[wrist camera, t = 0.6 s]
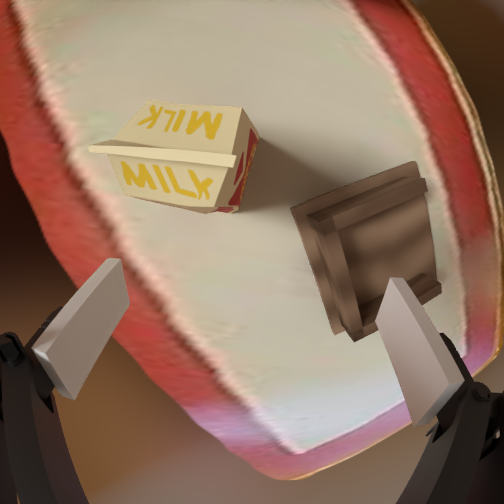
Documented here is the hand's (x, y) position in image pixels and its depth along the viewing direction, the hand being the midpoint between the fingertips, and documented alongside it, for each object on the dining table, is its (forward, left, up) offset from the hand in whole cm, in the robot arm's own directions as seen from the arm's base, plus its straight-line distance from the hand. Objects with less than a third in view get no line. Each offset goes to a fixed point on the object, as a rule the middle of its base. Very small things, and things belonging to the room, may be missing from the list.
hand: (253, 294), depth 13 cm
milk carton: (-4, -7, -19) cm, 21 cm away
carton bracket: (-8, +16, -19) cm, 26 cm away
